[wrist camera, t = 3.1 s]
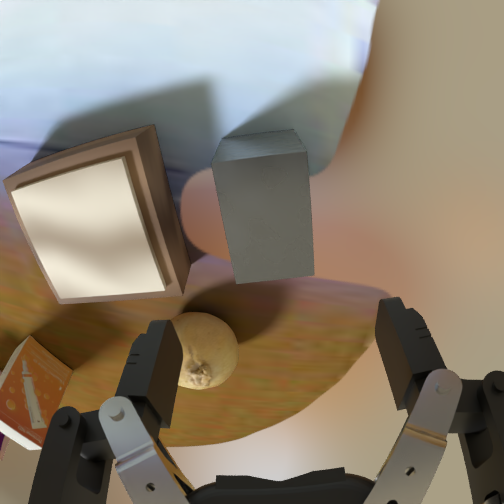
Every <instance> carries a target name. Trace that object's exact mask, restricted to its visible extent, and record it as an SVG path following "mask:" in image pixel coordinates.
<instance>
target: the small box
mask: <svg viewBox="0 0 504 504" xmlns="http://www.w3.org/2000/svg"><path fill="white" fill-rule="evenodd" d="M72 373H73V370H71V369H70V368H69V367H67V366H66V365H65V364H63V363H62V362H61V361H59V360H58V359H57V358H56V357H54V356H53V355H52V354H51V353H50V352H48V351H47V350H46V349H45V348H44V347H42V346H41V345H40V344H39V343H38V342H37V341H36V340H35V339H34V338H33V337H32V336H30V335H29V336H28V337H27V338H26V339H25V340H24V341H23V342H22V343H21V344H20V345H19V346H18V347H17V348H16V349H15V351H14V352H13V354H12V356H11V357H10V359H9V361H8V363H7V365H6V366H5V368H4V370H3V372H2V374H1V376H0V432H2V433H3V434H5V435H6V436H8V437H9V438H11V439H13V440H14V441H16V442H17V443H19V444H20V445H22V446H24V447H25V448H27V449H28V450H37V449H42V447H43V444H44V440H45V437H46V434H47V431H48V427H49V424H50V421H51V418H52V416H53V415H54V413H55V412H56V411H57V410H58V407H59V405H60V402H61V400H62V398H63V395H64V393H65V390H66V388H67V385H68V383H69V380H70V378H71V376H72Z"/></svg>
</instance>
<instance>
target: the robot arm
mask: <svg viewBox="0 0 504 504" xmlns="http://www.w3.org/2000/svg"><path fill="white" fill-rule="evenodd" d="M375 337H376V342H377V345H378V348H379V351H380V354H381V357H382V361H383V364H384V367H385V370H386V373H387V376H388V380H389V383H390V386H391V390H392V393H393V396H394V400H395V404H396V407H397V410H402V409H407V413H408V417H407V419H406V422H405V424H404V426H403V428H402V430H401V432H400V434H399V436H398V438H397V440H396V442H395V444H394V446H393V448H392V450H391V451H390V453H389V455H388V457H387V459H386V461H385V462H384V464H383V466H382V467H381V469H380V471H379V473H378V474H377V476H376V478H375V479H374V481H372V480H370V479H368V478H365V477H362V476H359V475H354V474H348V473H345V469H344V467H341V468H334V469H328V470H319V471H312V472H309V473H306V474H303V475H300V476H298V477H294V478H291V479H288V480H284V481H273V480H267V479H262V478H257V477H252V476H224V475H217V476H216V482H213V483H210V484H207V485H204V486H202V487H199V488H198V489H195V488H194V487H193V485H192V484H191V483H190V482H189V480H188V479H187V478H186V477H185V476H184V474H183V473H182V472H181V470H180V469H179V467H178V466H177V464H176V463H175V461H174V460H173V458H172V456H171V455H170V453H169V452H168V450H167V449H166V447H165V445H164V444H163V442H162V440H161V439H160V437H159V431H160V428H170V424H171V419H172V413H173V408H174V403H175V397H176V392H177V387H178V382H179V377H180V372H181V367H182V362H183V348H182V345H181V342H180V340H179V338H178V335H177V333H176V330H175V328H174V326H173V323H172V321H171V320H154V321H151V322H150V324H149V327H148V330H147V333H146V334H140V335H139V336H138V338H137V339H136V340H135V341H134V342H133V344H132V347H131V350H130V353H129V356H128V358H127V361H126V365H125V367H124V370H123V373H122V376H121V379H120V382H119V385H118V388H117V391H116V394H115V396H114V397H112V398H110V399H108V400H107V401H105V402H104V403H103V405H102V406H101V408H100V409H99V410H95V411H91V412H86V413H79V412H78V411H77V410H76V409H75V408H73V407H70V406H66V407H62V408H60V409H59V410H57V411H56V412H55V413H54V415H53V416H52V418H51V421H50V424H49V427H48V431H47V434H46V437H45V440H44V444H43V447H42V451H41V454H40V458H39V461H38V465H37V469H36V473H35V476H34V480H33V485H32V489H31V493H30V498H29V503H28V504H106V499H107V492H108V486H109V480H110V474H111V468H112V463H113V459H117V464H115V468H116V470H117V473H118V475H119V477H120V479H121V481H122V483H123V485H124V487H125V489H126V491H127V493H128V494H129V496H130V498H131V500H132V502H133V504H421V502H422V500H423V498H424V496H425V494H426V492H427V490H428V488H429V486H430V484H431V481H432V479H433V477H434V475H435V473H436V471H437V468H438V466H439V464H440V461H441V459H442V456H443V454H444V451H445V448H446V446H447V441H446V437H447V434H448V433H458V436H459V440H460V444H461V448H462V452H463V456H464V460H465V465H466V469H467V474H468V479H469V484H470V489H471V494H472V500H473V504H504V372H502V371H492V372H490V373H488V374H487V375H486V376H485V378H484V380H465V379H460V378H459V376H458V375H457V374H456V373H455V372H453V371H451V370H448V369H447V368H446V366H445V364H444V361H443V359H442V357H441V355H440V353H439V351H438V348H437V346H436V344H435V342H434V340H433V338H432V337H431V333H430V331H429V329H427V325H426V323H425V321H424V319H423V317H422V316H421V315H420V314H419V313H418V312H417V311H415V310H414V309H413V308H410V309H406V308H405V306H404V304H403V302H402V300H401V299H400V297H393V298H387V299H381V300H380V301H379V306H378V313H377V319H376V325H375Z"/></svg>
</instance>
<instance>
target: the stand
mask: <svg viewBox="0 0 504 504" xmlns="http://www.w3.org/2000/svg"><path fill="white" fill-rule="evenodd" d="M3 183H4V186H5V189H6V191H7V194H8V197H9V199H10V202H11V204H12V207H13V209H14V212H15V214H16V217H17V219H18V222H19V224H20V226H21V228H22V231H23V233H24V235H25V237H26V240H27V242H28V244H29V246H30V248H31V250H32V253H33V255H34V257H35V259H36V261H37V263H38V265H39V267H40V269H41V271H42V273H43V275H44V276H45V278H46V280H47V282H48V284H49V286H50V288H51V289H52V291H53V293H54V295H55V297H56V298H57V300H58V302H59V304H72V303H89V302H105V301H120V300H134V299H147V298H160V297H172V296H183V293H184V289H185V285H186V282H187V278H188V274H189V271H190V267H191V263H190V259H189V256H188V252H187V249H186V246H185V242H184V239H183V235H182V231H181V228H180V224H179V221H178V217H177V213H176V210H175V206H174V202H173V198H172V195H171V191H170V187H169V183H168V179H167V175H166V171H165V167H164V163H163V159H162V155H161V151H160V147H159V142H158V138H157V134H156V130H155V125H149V126H145V127H141V128H137V129H133V130H129V131H126V132H122V133H118V134H115V135H111V136H108V137H104V138H101V139H97V140H94V141H91V142H88V143H84V144H81V145H78V146H75V147H72V148H69V149H66V150H63V151H60V152H57V153H55V154H52V155H49V156H46V157H44V158H41V159H38V160H36V161H33V162H30V163H29V164H27V165H26V166H24V167H22V168H21V169H19V170H18V171H16V172H15V173H13V174H12V175H10V176H9V177H7V178H6V179H4V180H3Z"/></svg>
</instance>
